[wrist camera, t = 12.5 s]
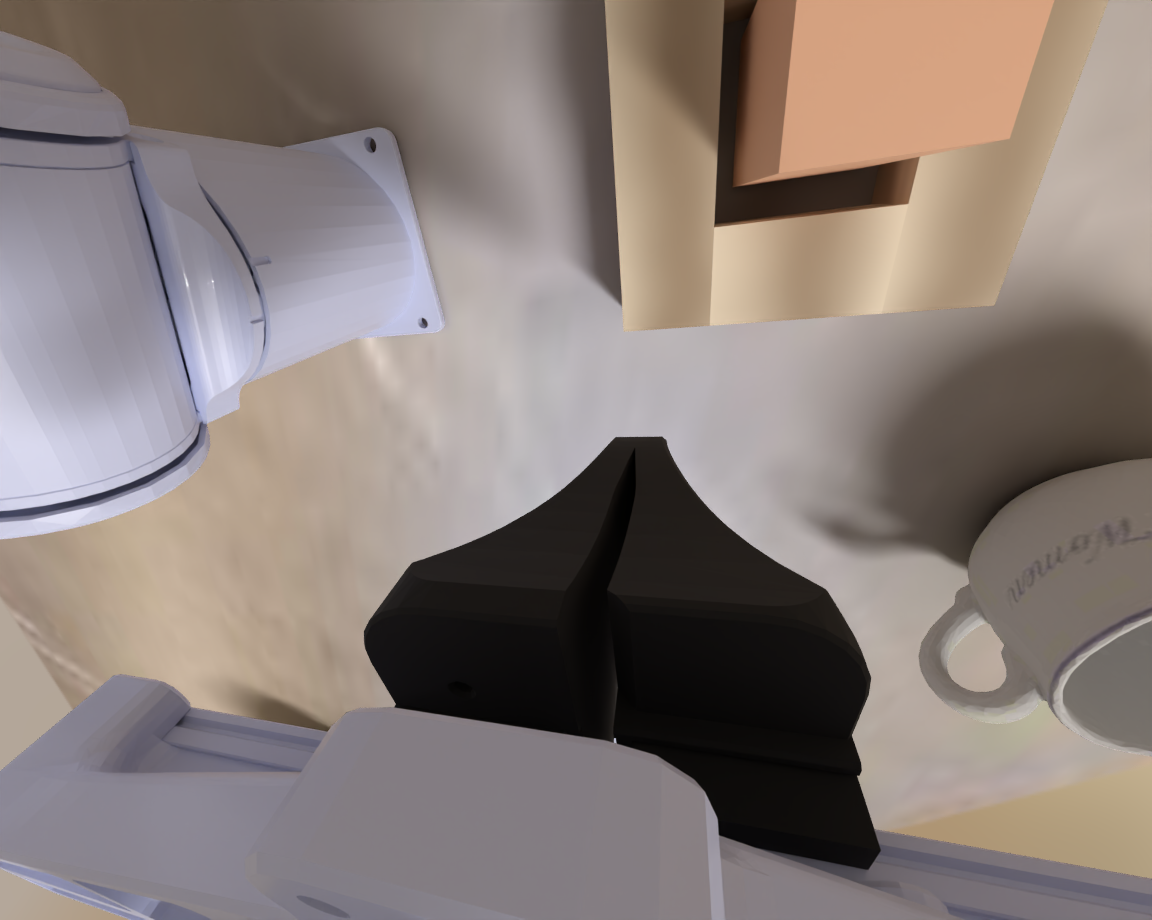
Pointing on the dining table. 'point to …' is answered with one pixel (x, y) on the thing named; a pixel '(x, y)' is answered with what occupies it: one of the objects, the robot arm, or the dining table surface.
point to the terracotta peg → (878, 81)
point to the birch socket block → (805, 187)
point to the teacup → (1063, 607)
